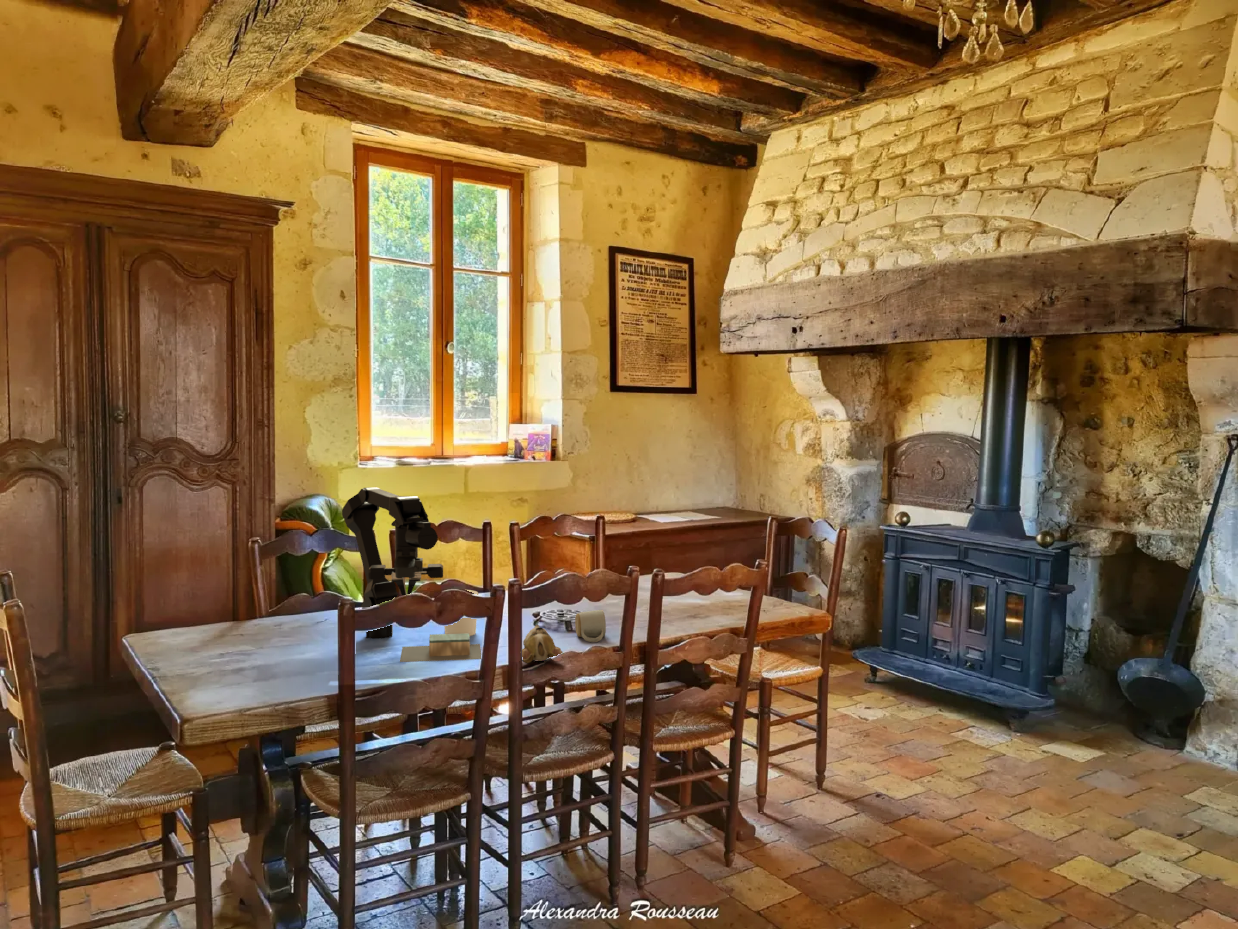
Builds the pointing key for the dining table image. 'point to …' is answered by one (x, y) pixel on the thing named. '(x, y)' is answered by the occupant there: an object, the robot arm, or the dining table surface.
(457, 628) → the candle holder
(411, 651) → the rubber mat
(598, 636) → the ceramic mug
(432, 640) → the wooden block
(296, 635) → the dining table surface
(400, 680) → the dining table surface
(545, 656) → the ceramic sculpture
